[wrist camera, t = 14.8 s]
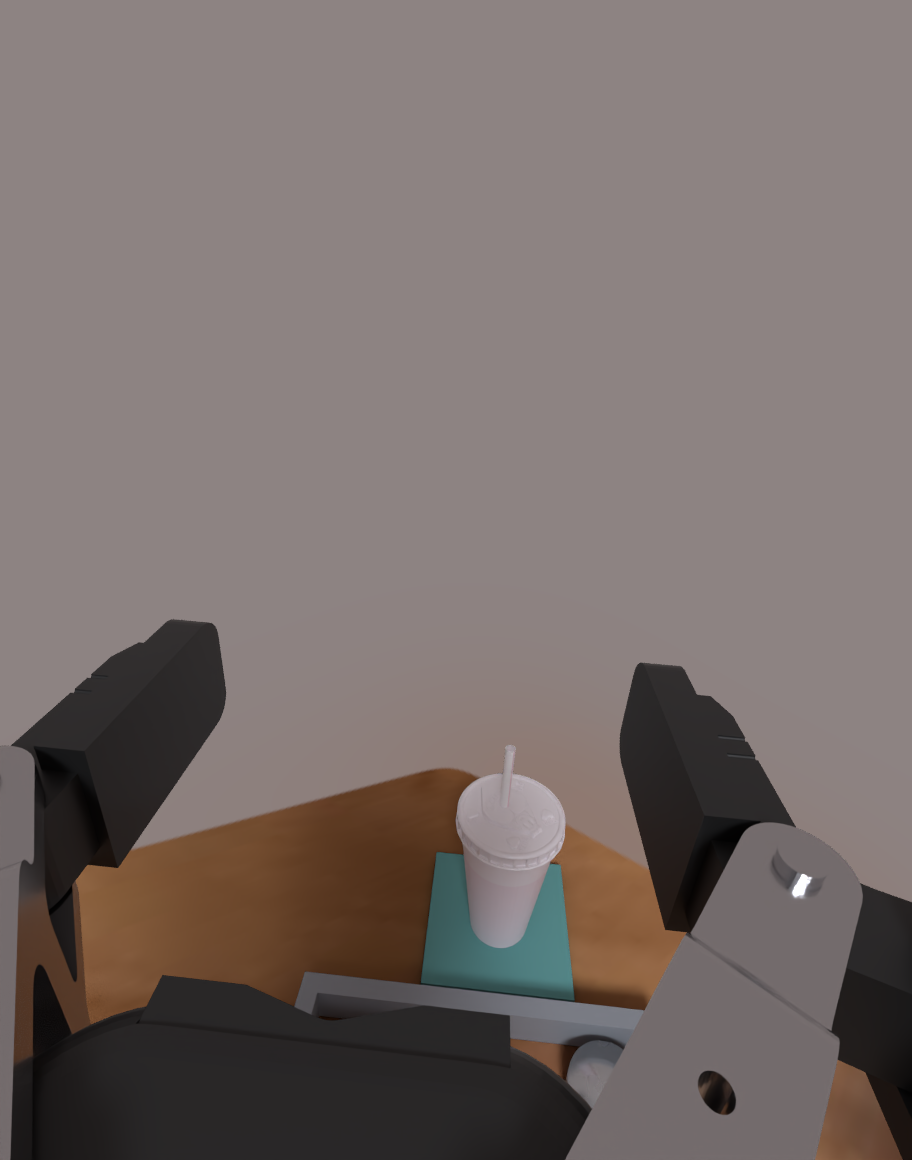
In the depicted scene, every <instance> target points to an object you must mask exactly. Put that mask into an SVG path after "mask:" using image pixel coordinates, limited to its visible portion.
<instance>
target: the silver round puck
mask: <svg viewBox="0 0 912 1160" xmlns="http://www.w3.org/2000/svg"><path fill="white" fill-rule="evenodd" d="M622 1052H623V1049H622V1048H620V1047H619V1046H617V1045H615V1044H613V1043H610V1042H607V1041H602V1040H596V1041H590V1042H587V1043H585V1044H583V1045H582V1046H581V1047H579V1048H578V1049H577V1051H576V1052H575V1053H574V1055H573V1057H572V1059H571V1062H570V1065H569V1069H568V1072H567V1076H566V1080H565V1081H566V1082H567V1083H568V1084H569V1085H570V1086H571V1087H572V1088H573V1089H574V1090H575V1091H576V1092H577V1093H578V1094H579V1095H580V1096H581V1097H582V1098H583V1099H584V1100H585V1101H586V1102H587V1103H588V1104H589V1105H590V1107H591V1108H593V1106H594V1104H595V1103H596V1101H597V1099H598V1097H599V1095H600V1093H601V1091H602V1089H603V1087H604V1086H605V1084H606V1082H607V1080H608V1078H609V1076H610V1074H611V1072H612V1071H613V1069H614V1067H615V1065H616V1063H617V1061H618V1059H619V1057H620V1056H621V1054H622Z"/></svg>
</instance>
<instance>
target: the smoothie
mask: <svg viewBox="0 0 912 1160" xmlns="http://www.w3.org/2000/svg"><path fill="white" fill-rule="evenodd" d="M515 750H516V748H515V747H514V746H512V745H508V746H506V749H505V758H504V768H503V773H497V774H491V775H487V776H484V777H482V778H479V779H477V780H476V781H474V782H472V783H471V784H470V785H469V786H468V787H467V788H466V789H465V790H464V791H463V793H462V795H461V797H460V799H459V802H458V808H457V815H456V827H457V833H458V835H459V837H460V839H461V841H462V844H463V851H464V862H465V872H466V882H467V893H468V903H469V914H470V923H471V927H472V929H473V931H474V933H475V935H476V936H477V937H478V938H479V939H480V940H481V941H482V942H483V943H485V944H487V945H489V946H491V947H495V948H507V947H510V946H513V945H515V944H516V943H518V942H519V941H520V940H521V938H522V937H523V935H524V933H525V931H526V928H527V925H528V922H529V920H530V917H531V914H532V911H533V909H534V906H535V903H536V900H537V898H538V895H539V892H540V889H541V886H542V884H543V881H544V878H545V875H546V873H547V870H548V867H549V865H550V862H551V860H552V859H554V857H555V856H556V855H557V853H558V852H559V851H560V849H561V847H562V844H563V841H564V838H565V814H564V810H563V808H562V805H561V803H560V802H559V800H558V799H557V797H556V796H555V795H554V794H553V793H552V792H551V791H550V790H549V789H548V788H547V787H545V786H544V785H542V784H541V783H539V782H538V781H536V780H533V779H531V778H529V777H526V776H523V775H518V774H513V767H514V757H515Z"/></svg>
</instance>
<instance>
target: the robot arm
mask: <svg viewBox="0 0 912 1160" xmlns="http://www.w3.org/2000/svg"><path fill="white" fill-rule="evenodd" d="M91 675H92V676H91V678H87V679H86V680H85V681H83V682H82V683H81V684H80V685H79V686H78V687H77V688H75V692H74V693H70V694H69V695H68V696H66V697H65V698H64V699H63V700H62V701H61V702H60V703H58V705H56V706H55V707H54V708H53V709H52V710H51V711H50V712H48V713H47V714H46V715H45V716H44V717H43V718H42V719H40V720H39V721H38V722H37V723H36V724H35V725H34V726H33V727H31V728H30V729H29V730H28V731H27V732H26V733H25V734H24V735H23V736H21V737H20V738H19V739H18V740H17V741H16V742H15V743H13V744H12V745H11V746H0V1160H815V1157H816V1153H817V1148H818V1144H819V1140H820V1135H821V1131H822V1126H823V1122H824V1117H825V1113H826V1109H827V1104H828V1100H829V1095H830V1091H831V1086H832V1082H833V1078H834V1073H835V1069H836V1064H837V1059H838V1060H840V1061H842V1062H844V1063H846V1064H849V1065H851V1066H853V1067H855V1068H857V1069H860V1070H862V1071H864V1072H866V1075H867V1077H868V1079H869V1082H870V1084H871V1086H872V1089H873V1091H874V1093H875V1096H876V1098H877V1100H878V1103H879V1105H880V1107H881V1110H882V1112H883V1114H884V1117H885V1119H886V1121H887V1124H888V1126H889V1128H890V1131H891V1133H892V1135H893V1138H894V1140H895V1142H896V1145H897V1147H898V1149H899V1152H900V1154H901V1156H902V1159H903V1160H912V902H909V901H906V900H904V899H901V898H898V897H895V896H892V895H889V894H887V893H884V892H881V891H878V890H875V889H873V888H870V887H868V886H865V885H863V884H861V883H860V882H859V880H858V878H857V876H856V874H855V873H854V871H853V869H852V868H851V867H850V866H849V865H848V863H847V862H846V861H845V860H844V859H843V858H842V857H841V856H840V855H839V854H838V853H837V852H836V851H835V850H833V848H831V847H830V846H829V845H827V844H826V843H825V842H823V841H822V840H820V839H818V838H816V837H815V836H813V835H812V834H810V833H807V832H805V831H803V830H801V829H798V828H796V826H795V825H794V823H793V821H792V820H791V818H790V816H789V814H788V813H787V811H786V809H785V807H784V805H783V804H782V802H781V800H780V798H779V797H778V795H777V793H776V791H775V789H774V788H773V786H772V784H771V783H770V781H769V779H768V777H767V775H766V774H765V772H764V770H763V768H762V767H761V765H760V763H759V761H757V760H755V754H754V753H753V751H752V749H751V747H750V745H749V744H748V742H745V737H744V735H743V733H742V731H741V730H740V728H739V726H738V724H737V723H736V721H735V719H734V717H733V716H732V715H731V714H730V713H729V712H728V711H727V710H725V709H724V708H723V707H722V706H721V705H720V704H719V703H718V702H716V701H715V700H714V699H713V698H712V697H711V696H701V695H697V694H696V692H695V690H694V688H693V686H692V684H691V682H690V680H689V678H688V676H687V674H686V672H685V670H684V669H683V668H682V667H681V666H672V665H660V664H649V663H639V664H638V665H637V667H636V669H635V672H634V675H633V680H632V684H631V688H630V693H629V697H628V701H627V706H626V710H625V714H624V718H623V722H622V727H621V733H620V758H621V763H622V767H623V771H624V775H625V779H626V782H627V786H628V790H629V794H630V797H631V802H632V805H633V809H634V813H635V817H636V820H637V824H638V828H639V832H640V836H641V840H642V843H643V847H644V850H645V855H646V859H647V862H648V866H649V870H650V874H651V878H652V881H653V885H654V889H655V893H656V897H657V900H658V904H659V908H660V912H661V916H662V919H663V923H664V927H665V930H672V931H681V932H687V933H686V935H685V936H684V938H683V939H682V941H681V943H680V945H679V947H678V948H677V950H676V952H675V954H674V956H673V958H672V960H671V962H670V963H669V965H668V967H667V969H666V971H665V973H664V975H663V977H662V978H661V980H660V982H659V984H658V986H657V988H656V990H655V992H654V993H653V995H652V997H651V999H650V1001H649V1003H648V1005H647V1007H646V1009H645V1010H644V1012H643V1014H642V1016H641V1018H640V1020H639V1022H638V1024H637V1025H636V1027H635V1029H634V1031H633V1033H632V1035H631V1037H630V1039H629V1040H628V1042H627V1044H626V1046H625V1048H624V1050H623V1052H622V1054H621V1056H620V1057H619V1059H618V1061H617V1063H616V1065H615V1067H614V1069H613V1071H612V1072H611V1074H610V1076H609V1078H608V1080H607V1082H606V1084H605V1086H604V1087H603V1089H602V1091H601V1093H600V1095H599V1097H598V1099H597V1101H596V1103H595V1104H594V1106H593V1108H591V1107H590V1105H589V1104H588V1103H587V1102H586V1101H585V1100H584V1099H583V1098H582V1097H581V1096H580V1095H579V1094H578V1093H577V1092H576V1091H575V1090H574V1089H573V1088H572V1087H571V1086H570V1085H569V1084H568V1083H567V1082H566V1081H565V1080H564V1079H562V1078H561V1077H560V1076H559V1075H557V1074H556V1073H555V1072H554V1071H552V1070H551V1069H550V1068H549V1067H547V1066H546V1065H544V1064H543V1063H541V1062H539V1061H538V1060H536V1059H534V1058H533V1057H531V1056H530V1055H528V1054H526V1053H524V1052H522V1051H520V1050H517V1049H515V1048H513V1047H511V1046H510V1015H502V1014H494V1013H485V1012H476V1011H468V1010H459V1009H451V1008H442V1007H433V1006H425V1005H422V1006H416V1007H411V1008H405V1009H399V1010H393V1011H388V1012H382V1013H376V1014H370V1015H365V1016H359V1017H353V1018H348V1019H342V1020H334V1021H329V1020H323V1019H320V1018H318V1017H316V1016H313V1015H311V1014H309V1013H307V1012H305V1011H302V1010H300V1009H298V1008H296V1007H294V1006H291V1005H289V1004H287V1003H285V1002H283V1001H281V1000H278V999H276V998H274V997H272V996H270V995H267V994H265V993H263V992H261V991H259V990H257V989H254V988H252V987H250V986H248V985H244V984H235V983H226V982H218V981H209V980H200V979H192V978H183V977H175V976H166V975H162V977H161V979H160V981H159V983H158V985H157V987H156V989H155V991H154V993H153V995H152V997H151V999H150V1001H149V1003H148V1005H147V1007H142V1008H137V1009H133V1010H130V1011H127V1012H123V1013H120V1014H116V1015H113V1016H111V1017H108V1018H106V1019H104V1020H101V1021H99V1022H96V1023H94V1024H91V1023H90V1019H89V1014H88V1008H87V1001H86V991H85V976H84V962H83V947H82V932H81V917H80V902H79V892H78V887H77V884H76V881H75V880H76V879H77V878H78V876H79V875H80V874H81V872H82V871H83V870H84V868H85V867H86V866H87V865H95V866H105V867H114V868H118V867H119V866H120V864H121V863H122V861H123V860H124V858H125V857H126V856H127V854H128V853H129V851H130V850H131V848H132V847H133V845H134V844H135V842H136V841H137V840H138V838H139V837H140V835H141V834H142V832H143V831H144V829H145V828H146V827H147V825H148V823H149V822H150V821H151V819H152V817H153V816H154V815H155V813H156V812H157V810H158V809H159V808H160V806H161V805H162V803H163V802H164V800H165V799H166V797H167V796H168V794H169V793H170V792H171V790H172V789H173V787H174V786H175V784H176V783H177V781H178V780H179V778H180V777H181V776H182V774H183V773H184V771H185V770H186V768H187V767H188V765H189V764H190V763H191V761H192V760H193V758H194V757H195V755H196V754H197V752H198V751H199V750H200V748H201V747H202V745H203V743H204V742H205V740H206V739H207V738H208V736H209V735H210V733H211V732H212V731H213V729H214V728H215V726H216V725H217V723H218V722H219V720H220V718H221V715H222V713H223V709H224V706H225V699H226V687H225V680H224V673H223V666H222V659H221V652H220V644H219V637H218V632H217V629H216V627H215V626H214V625H213V624H212V623H207V622H196V621H184V620H169V621H167V622H166V623H165V624H164V625H163V626H162V627H161V628H160V629H159V630H157V631H156V632H155V633H154V634H153V635H152V636H151V637H150V638H149V639H148V640H147V641H146V642H144V643H137V644H135V645H133V646H132V647H129V648H127V649H126V650H123V651H122V652H120V653H117V654H116V655H114V656H112V657H110V658H109V659H108V660H107V661H106V662H105V663H104V664H102V665H101V666H100V667H99V668H98V669H97V670H96V671H95V672H93V673H92V674H91ZM689 932H690V933H689Z"/></svg>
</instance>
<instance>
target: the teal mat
mask: <svg viewBox="0 0 912 1160" xmlns="http://www.w3.org/2000/svg"><path fill="white" fill-rule="evenodd" d="M421 985H427V986H436V987H445V988H453V989H462V990H471V991H479V992H488V993H497V994H505V995H514V996H523V997H532V998H540V999H549V1000H558V1001H566V1002H574V1001H575V999H574V990H573V980H572V971H571V961H570V951H569V942H568V932H567V923H566V913H565V903H564V894H563V884H562V875H561V865H556V864H550V865H549V867H548V870H547V873H546V875H545V878H544V881H543V884H542V886H541V889H540V892H539V895H538V898H537V900H536V903H535V906H534V909H533V911H532V914H531V917H530V920H529V922H528V925H527V928H526V931H525V933H524V935H523V937H522V938H521V940H520V941H519V942H518V943H516V944H515V945H513V946H510V947H507V948H495V947H491V946H489V945H487V944H485V943H483V942H482V941H481V940H480V939H479V938H478V937H477V936H476V935H475V933H474V931H473V929H472V927H471V923H470V914H469V903H468V893H467V882H466V872H465V862H464V855H461V854H451V853H442V852H437V854H436V862H435V871H434V879H433V887H432V895H431V903H430V911H429V919H428V928H427V936H426V944H425V952H424V960H423V968H422V977H421Z"/></svg>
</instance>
